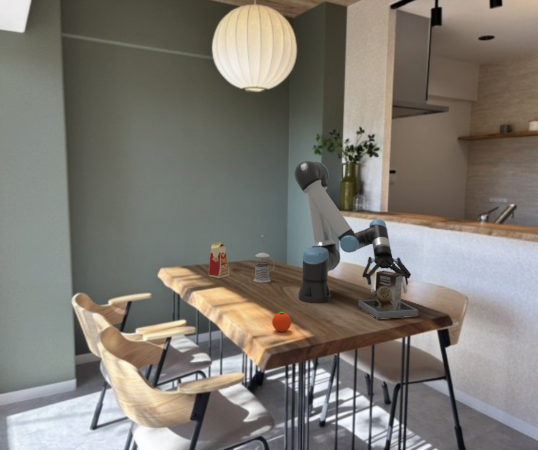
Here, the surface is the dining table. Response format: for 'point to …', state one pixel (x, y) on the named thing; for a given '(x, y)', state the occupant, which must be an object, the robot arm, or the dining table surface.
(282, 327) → the clementine
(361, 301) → the tray
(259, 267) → the french press
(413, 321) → the dining table surface
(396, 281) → the coffee box
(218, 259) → the milk carton
